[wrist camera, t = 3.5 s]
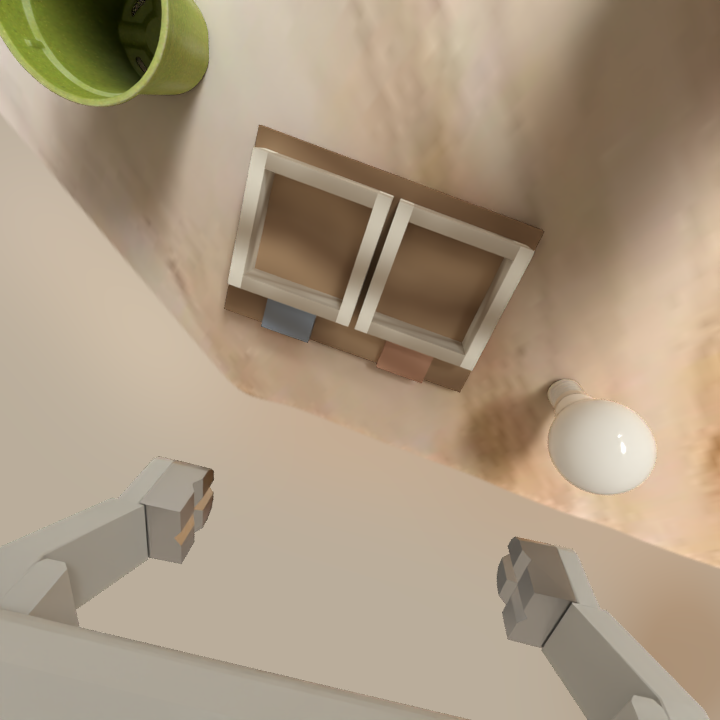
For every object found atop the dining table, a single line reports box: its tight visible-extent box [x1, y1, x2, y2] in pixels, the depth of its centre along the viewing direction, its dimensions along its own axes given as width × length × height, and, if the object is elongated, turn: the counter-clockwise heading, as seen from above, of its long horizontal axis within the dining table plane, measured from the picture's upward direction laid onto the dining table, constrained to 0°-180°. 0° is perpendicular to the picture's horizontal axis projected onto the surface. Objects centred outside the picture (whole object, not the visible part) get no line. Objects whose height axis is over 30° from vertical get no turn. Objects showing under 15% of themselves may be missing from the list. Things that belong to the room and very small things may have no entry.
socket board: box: [224, 125, 544, 392], centre depth 31 cm, size 14×21×4 cm, turn 71°
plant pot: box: [0, 0, 209, 107], centre depth 24 cm, size 9×9×9 cm
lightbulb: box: [547, 379, 657, 495], centre depth 30 cm, size 6×6×11 cm
